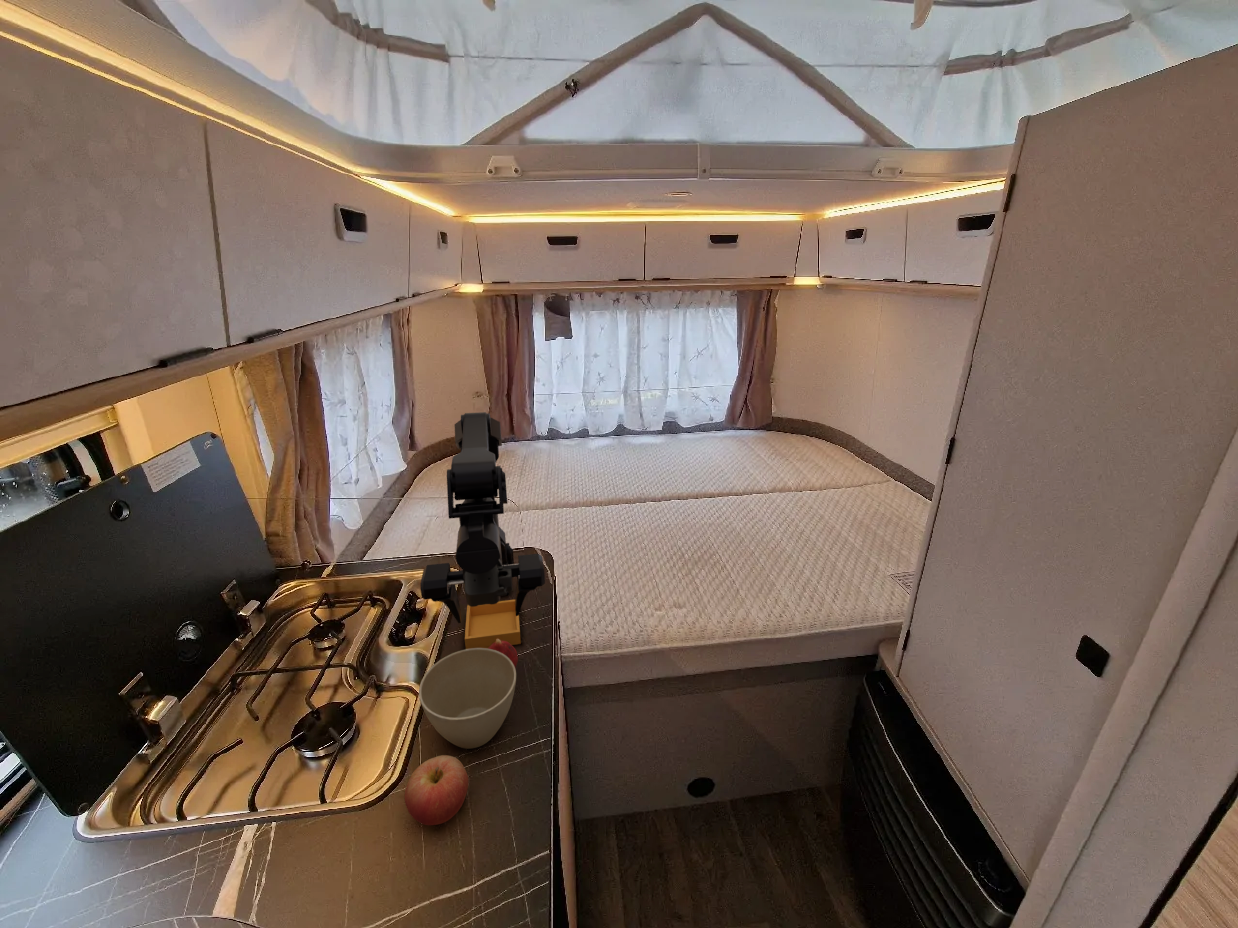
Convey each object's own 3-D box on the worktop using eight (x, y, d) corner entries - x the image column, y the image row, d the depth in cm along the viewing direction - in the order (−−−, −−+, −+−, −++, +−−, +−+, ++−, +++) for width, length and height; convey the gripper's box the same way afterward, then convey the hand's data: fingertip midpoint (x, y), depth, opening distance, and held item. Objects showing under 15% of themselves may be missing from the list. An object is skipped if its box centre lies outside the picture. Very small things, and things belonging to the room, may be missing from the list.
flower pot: (528, 750, 79) (525, 701, 75) (430, 783, 73) (421, 732, 70) (509, 683, 91) (506, 637, 87) (424, 708, 86) (416, 660, 82)
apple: (483, 796, 72) (478, 756, 69) (440, 850, 65) (432, 808, 62) (442, 770, 75) (435, 730, 72) (396, 818, 69) (387, 777, 66)
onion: (522, 664, 95) (520, 629, 92) (513, 689, 90) (510, 653, 87) (491, 662, 95) (488, 627, 92) (481, 686, 90) (477, 650, 87)
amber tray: (468, 616, 107) (467, 605, 106) (518, 610, 109) (517, 598, 108) (466, 651, 98) (464, 638, 97) (520, 643, 100) (519, 631, 99)
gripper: (408, 573, 70) (423, 661, 76) (546, 558, 74) (549, 643, 80) (419, 532, 80) (431, 613, 86) (540, 521, 84) (543, 599, 90)
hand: (488, 617), depth 86 cm, fingers open, 9 cm apart
